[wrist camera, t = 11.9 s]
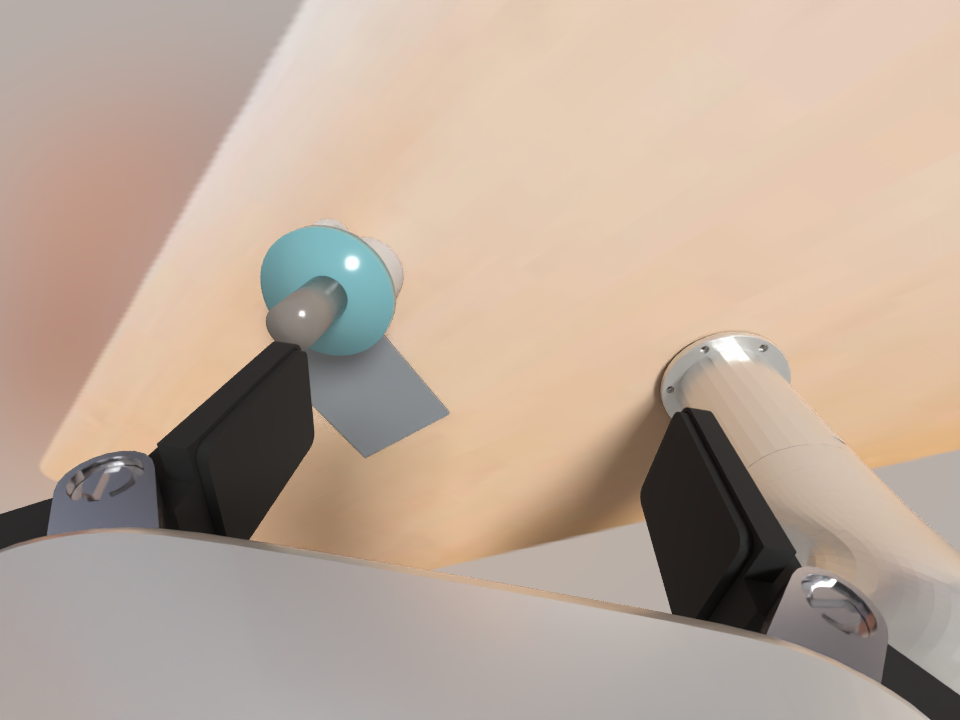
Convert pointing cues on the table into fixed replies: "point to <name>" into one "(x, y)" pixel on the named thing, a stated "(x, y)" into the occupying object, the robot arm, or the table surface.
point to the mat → (372, 396)
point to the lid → (326, 291)
